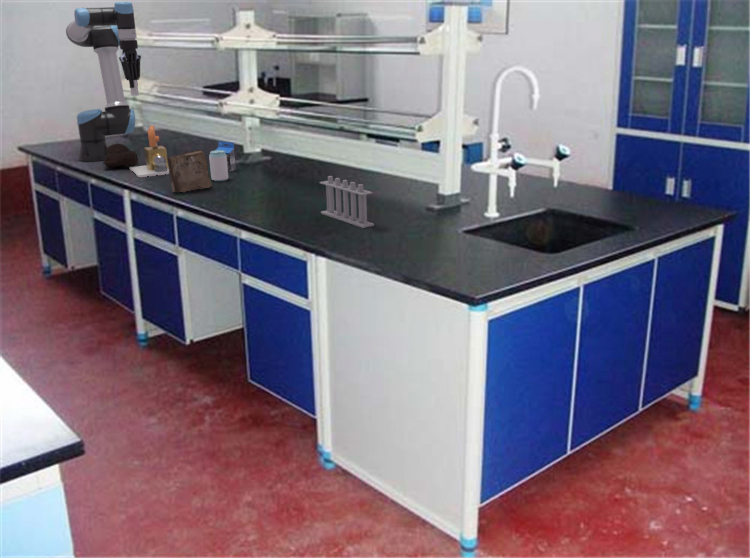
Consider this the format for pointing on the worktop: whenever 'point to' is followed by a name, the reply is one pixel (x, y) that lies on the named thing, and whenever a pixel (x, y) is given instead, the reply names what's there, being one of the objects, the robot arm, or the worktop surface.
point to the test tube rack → (346, 202)
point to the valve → (156, 158)
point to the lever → (152, 137)
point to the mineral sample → (188, 171)
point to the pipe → (120, 156)
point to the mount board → (146, 171)
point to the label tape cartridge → (228, 154)
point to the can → (218, 165)
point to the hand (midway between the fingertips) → (135, 95)
